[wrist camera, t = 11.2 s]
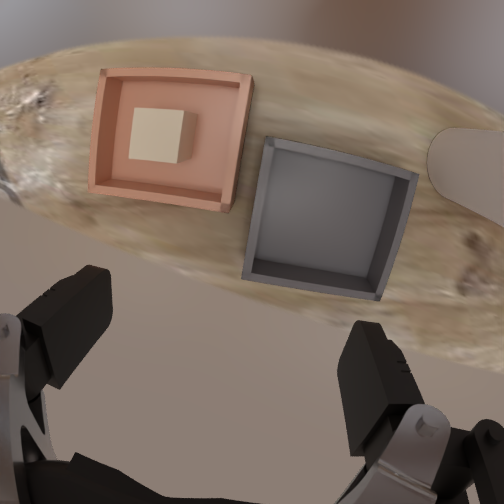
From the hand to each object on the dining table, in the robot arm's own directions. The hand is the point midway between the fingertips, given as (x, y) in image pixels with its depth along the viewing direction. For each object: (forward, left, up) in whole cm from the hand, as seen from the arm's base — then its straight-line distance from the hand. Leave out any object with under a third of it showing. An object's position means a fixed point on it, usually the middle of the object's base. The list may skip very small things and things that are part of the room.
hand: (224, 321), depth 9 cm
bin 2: (-7, +1, -22) cm, 23 cm away
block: (+9, -4, -21) cm, 23 cm away
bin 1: (+9, -4, -22) cm, 24 cm away
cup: (-21, -8, -23) cm, 32 cm away
